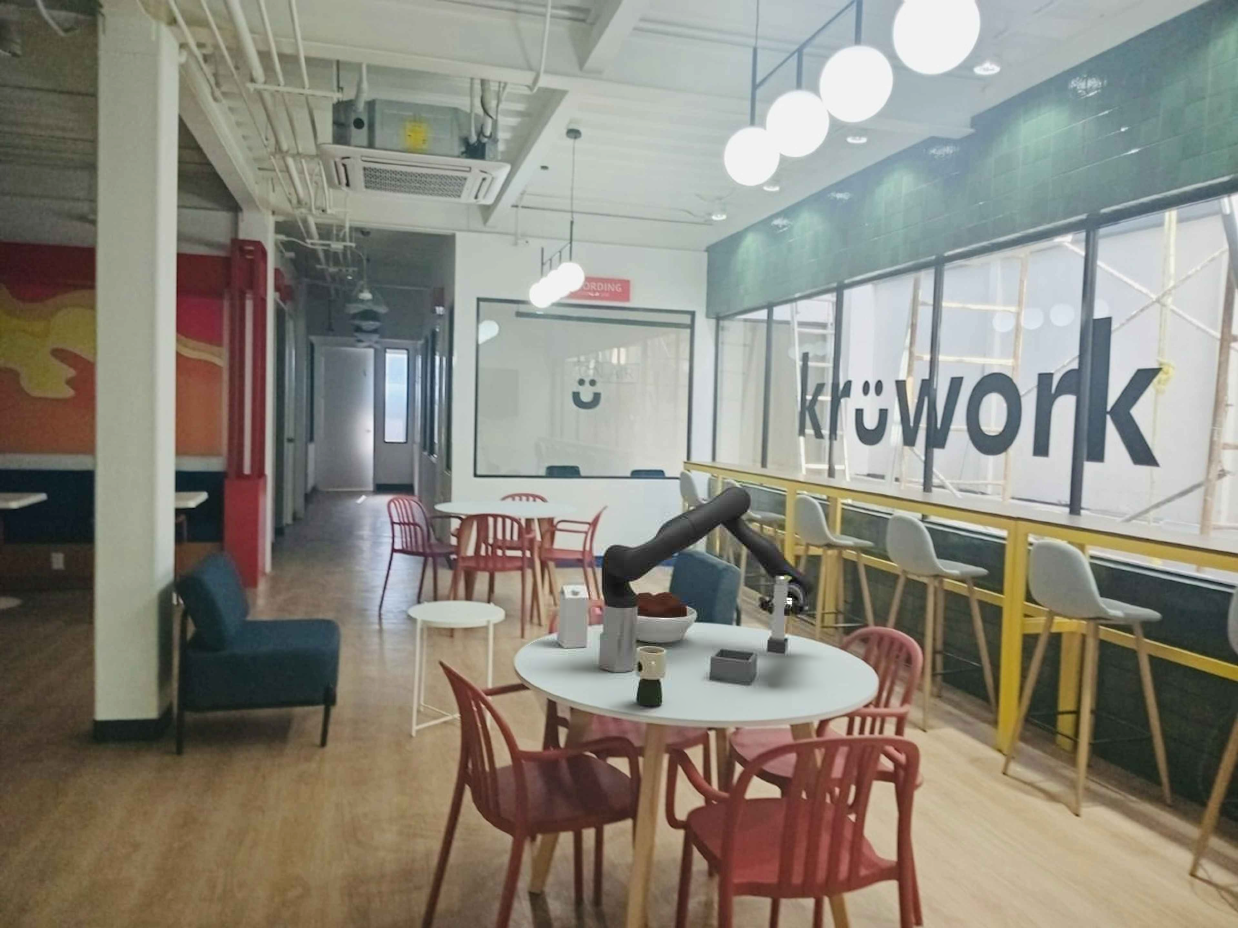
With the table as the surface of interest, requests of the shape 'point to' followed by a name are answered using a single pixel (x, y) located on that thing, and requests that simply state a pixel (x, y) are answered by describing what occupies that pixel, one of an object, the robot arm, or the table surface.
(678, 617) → the bowl of brownies
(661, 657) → the character mug
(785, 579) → the brushed steel column
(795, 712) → the table surface
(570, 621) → the milk carton
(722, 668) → the holder
